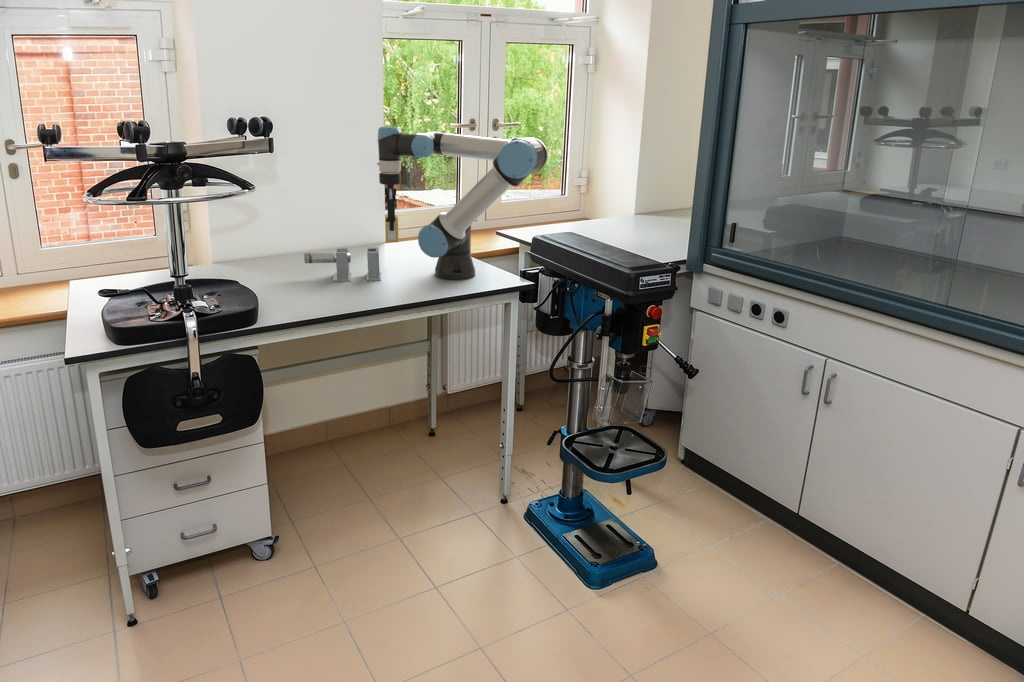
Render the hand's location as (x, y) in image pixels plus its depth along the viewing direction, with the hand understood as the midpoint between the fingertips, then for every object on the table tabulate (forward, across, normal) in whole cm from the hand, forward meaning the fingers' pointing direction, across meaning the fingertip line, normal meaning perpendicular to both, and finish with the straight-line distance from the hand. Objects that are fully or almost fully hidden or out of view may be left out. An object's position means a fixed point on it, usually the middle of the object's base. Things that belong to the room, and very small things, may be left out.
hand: (391, 237), depth 267 cm
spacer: (+1, 0, 0) cm, 1 cm away
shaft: (+9, 0, -23) cm, 25 cm away
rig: (+15, 0, -13) cm, 20 cm away
